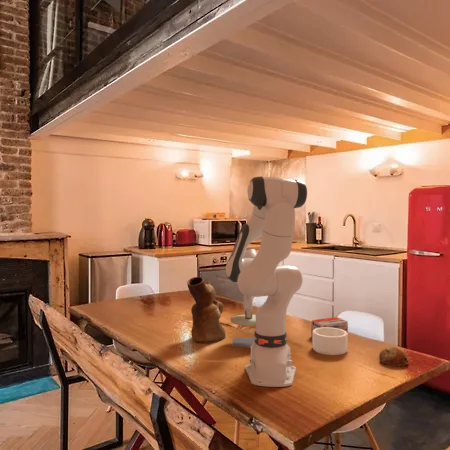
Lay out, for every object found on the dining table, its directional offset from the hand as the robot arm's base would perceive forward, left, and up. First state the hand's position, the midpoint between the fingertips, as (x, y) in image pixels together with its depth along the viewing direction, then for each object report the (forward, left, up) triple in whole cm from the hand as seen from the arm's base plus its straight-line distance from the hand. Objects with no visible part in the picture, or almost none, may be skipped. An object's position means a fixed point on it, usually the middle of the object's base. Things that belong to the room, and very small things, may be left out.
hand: (248, 315), depth 182 cm
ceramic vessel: (+3, +20, -13) cm, 24 cm away
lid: (0, 0, -2) cm, 2 cm away
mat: (+1, 0, -13) cm, 13 cm away
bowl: (-5, -35, -13) cm, 37 cm away
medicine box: (+12, -38, -13) cm, 42 cm away
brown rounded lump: (-18, -57, -13) cm, 61 cm away
